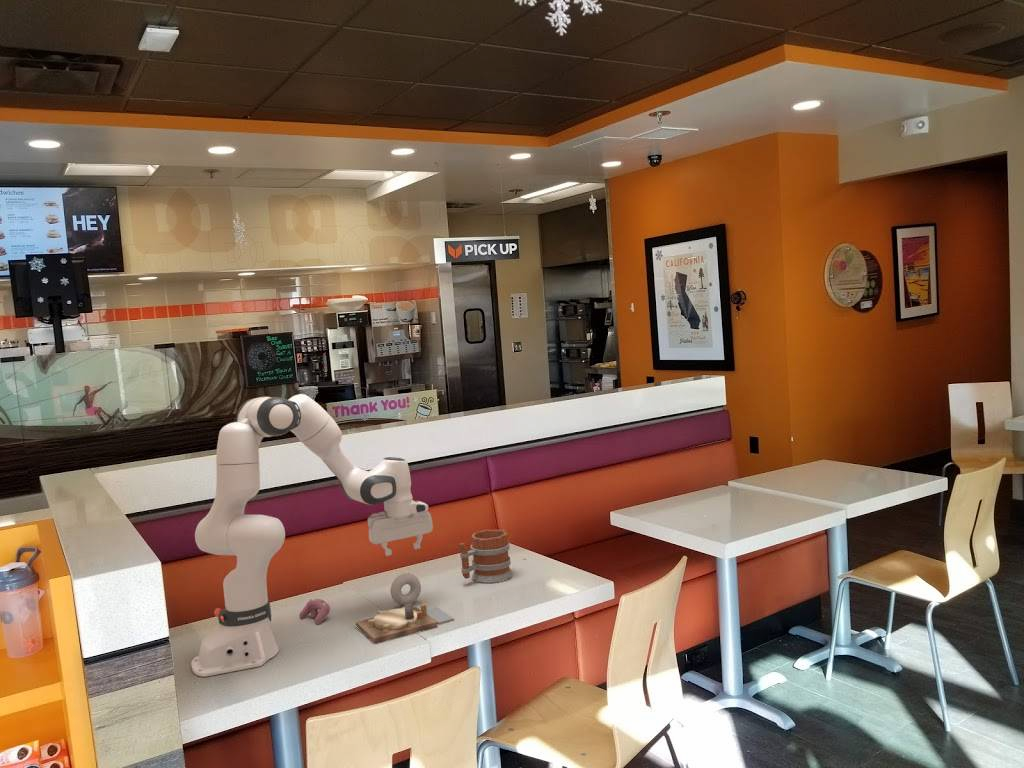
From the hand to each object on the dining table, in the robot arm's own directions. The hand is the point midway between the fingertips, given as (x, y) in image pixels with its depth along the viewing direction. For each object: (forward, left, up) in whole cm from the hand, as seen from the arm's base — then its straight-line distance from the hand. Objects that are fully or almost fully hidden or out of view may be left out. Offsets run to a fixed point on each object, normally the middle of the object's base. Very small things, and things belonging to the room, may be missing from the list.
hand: (403, 552), depth 251 cm
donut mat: (+3, -16, -17) cm, 23 cm away
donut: (0, 0, -17) cm, 17 cm away
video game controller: (-27, +7, -17) cm, 33 cm away
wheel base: (-10, -16, -17) cm, 25 cm away
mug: (+31, +6, -17) cm, 36 cm away
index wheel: (-10, -16, -15) cm, 24 cm away
